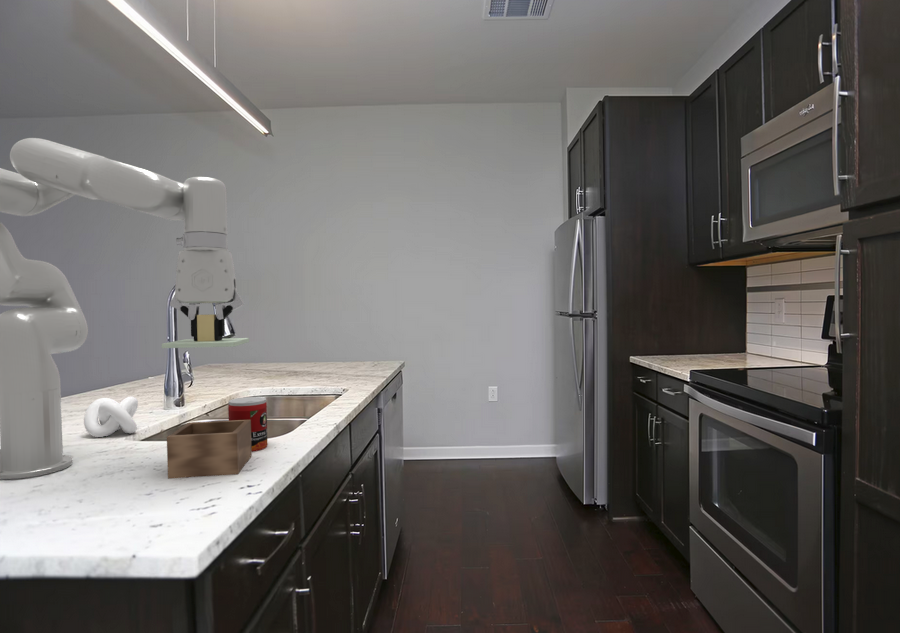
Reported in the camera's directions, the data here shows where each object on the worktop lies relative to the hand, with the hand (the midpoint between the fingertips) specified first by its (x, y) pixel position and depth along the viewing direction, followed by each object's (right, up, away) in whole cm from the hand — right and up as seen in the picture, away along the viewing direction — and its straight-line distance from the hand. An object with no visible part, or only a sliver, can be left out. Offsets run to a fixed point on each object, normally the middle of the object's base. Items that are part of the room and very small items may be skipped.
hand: (208, 339), depth 103 cm
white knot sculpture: (-37, -25, +32) cm, 55 cm away
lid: (0, -1, 0) cm, 1 cm away
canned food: (+2, -25, +14) cm, 29 cm away
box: (+1, -25, +1) cm, 25 cm away
